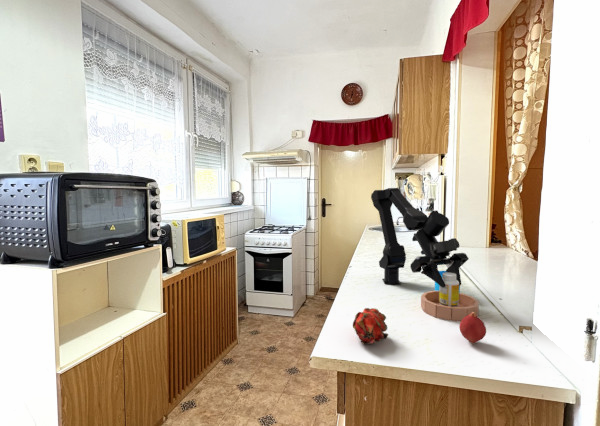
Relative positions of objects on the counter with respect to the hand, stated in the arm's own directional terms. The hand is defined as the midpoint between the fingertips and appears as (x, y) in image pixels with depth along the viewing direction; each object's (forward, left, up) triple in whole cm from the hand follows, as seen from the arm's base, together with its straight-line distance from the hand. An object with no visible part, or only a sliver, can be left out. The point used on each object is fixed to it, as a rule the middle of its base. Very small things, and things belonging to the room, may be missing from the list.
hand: (452, 286), depth 98 cm
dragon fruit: (+20, -27, -9) cm, 35 cm away
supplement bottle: (-1, 0, -7) cm, 7 cm away
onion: (+20, -2, -9) cm, 22 cm away
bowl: (-1, 0, -8) cm, 8 cm away
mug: (-17, +5, -9) cm, 20 cm away
